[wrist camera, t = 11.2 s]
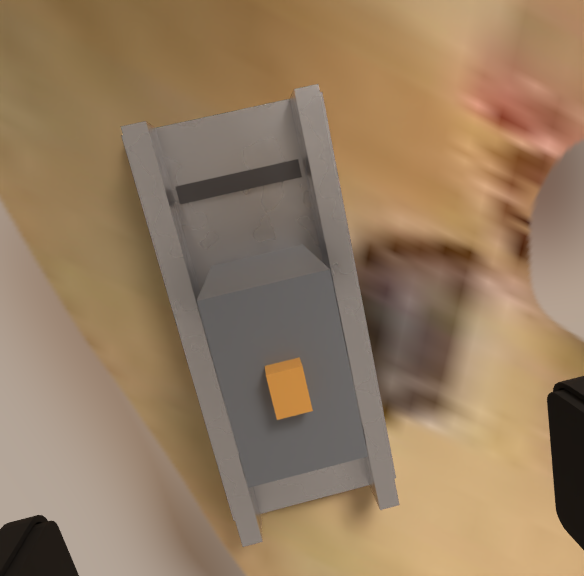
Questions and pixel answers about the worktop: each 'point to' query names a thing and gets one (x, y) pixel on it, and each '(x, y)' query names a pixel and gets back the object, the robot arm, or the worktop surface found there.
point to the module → (282, 364)
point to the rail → (250, 242)
